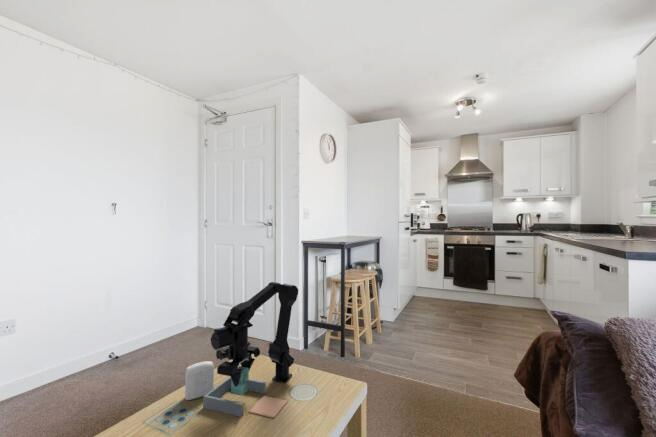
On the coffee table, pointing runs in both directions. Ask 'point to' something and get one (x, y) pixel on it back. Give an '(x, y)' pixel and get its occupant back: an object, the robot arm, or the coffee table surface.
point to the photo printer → (199, 380)
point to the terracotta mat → (268, 406)
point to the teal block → (241, 382)
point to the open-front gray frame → (227, 406)
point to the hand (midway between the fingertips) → (239, 383)
